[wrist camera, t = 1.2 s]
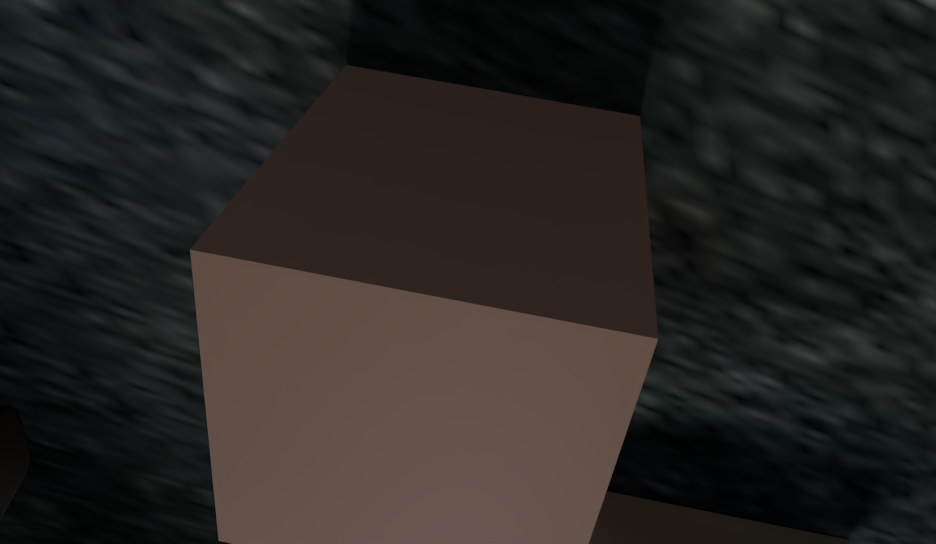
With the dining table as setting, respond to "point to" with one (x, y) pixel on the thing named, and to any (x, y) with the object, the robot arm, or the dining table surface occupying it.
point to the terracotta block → (426, 319)
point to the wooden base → (687, 526)
